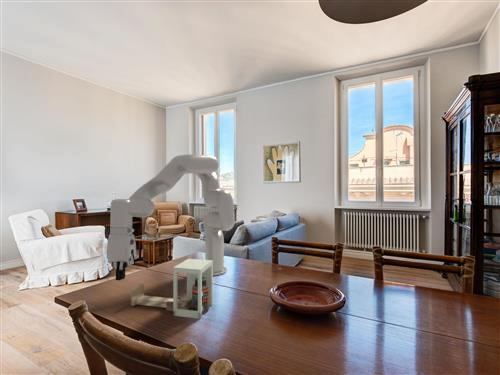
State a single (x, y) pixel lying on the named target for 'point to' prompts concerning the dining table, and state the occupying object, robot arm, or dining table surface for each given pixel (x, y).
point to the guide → (170, 305)
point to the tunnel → (193, 270)
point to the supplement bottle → (204, 296)
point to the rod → (155, 299)
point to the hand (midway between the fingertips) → (120, 279)
